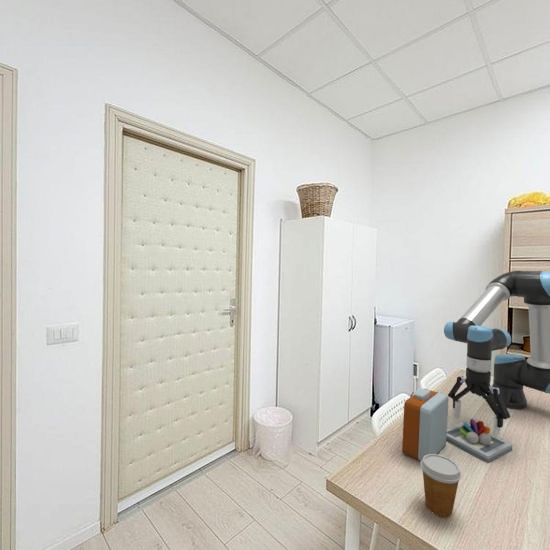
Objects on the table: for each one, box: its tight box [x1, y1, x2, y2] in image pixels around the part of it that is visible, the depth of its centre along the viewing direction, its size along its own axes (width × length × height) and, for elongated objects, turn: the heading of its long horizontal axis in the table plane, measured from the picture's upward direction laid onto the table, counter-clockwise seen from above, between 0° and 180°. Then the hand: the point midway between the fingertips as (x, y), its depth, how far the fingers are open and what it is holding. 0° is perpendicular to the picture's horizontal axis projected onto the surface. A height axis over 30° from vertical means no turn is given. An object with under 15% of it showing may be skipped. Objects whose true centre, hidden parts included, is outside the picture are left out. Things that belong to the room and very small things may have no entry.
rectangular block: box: [401, 387, 449, 462], centre depth 109 cm, size 18×9×21 cm, turn 135°
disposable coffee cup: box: [420, 454, 462, 518], centre depth 82 cm, size 10×10×12 cm
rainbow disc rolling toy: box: [460, 418, 491, 445], centre depth 113 cm, size 8×10×7 cm
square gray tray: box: [446, 421, 513, 464], centre depth 113 cm, size 16×17×2 cm
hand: (475, 426), depth 113 cm, fingers open, 13 cm apart
